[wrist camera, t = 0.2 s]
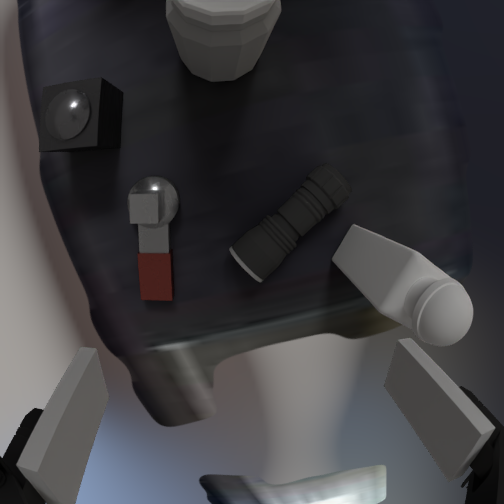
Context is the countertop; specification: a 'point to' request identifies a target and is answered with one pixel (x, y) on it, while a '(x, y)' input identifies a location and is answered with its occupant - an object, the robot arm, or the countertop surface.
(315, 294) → the countertop surface
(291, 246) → the flashlight
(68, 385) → the robot arm
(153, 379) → the countertop surface
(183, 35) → the jar
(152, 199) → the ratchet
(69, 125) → the speaker cube
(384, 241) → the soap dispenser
